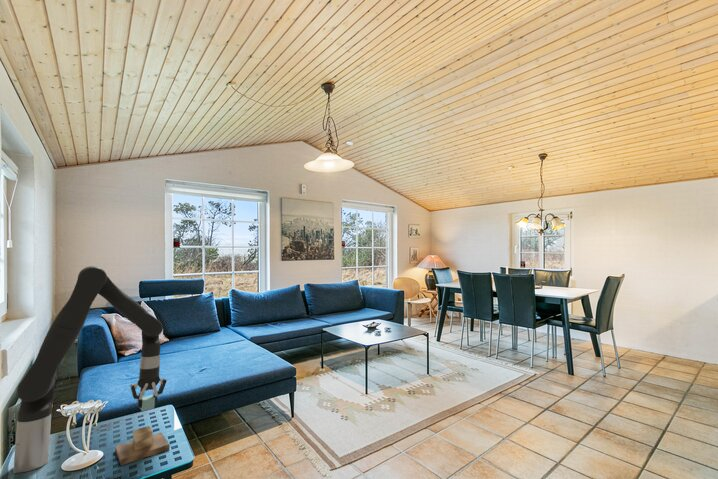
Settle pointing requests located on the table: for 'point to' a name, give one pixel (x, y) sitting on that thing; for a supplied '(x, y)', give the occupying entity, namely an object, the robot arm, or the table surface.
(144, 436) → the oak block
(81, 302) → the robot arm
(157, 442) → the walnut board
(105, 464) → the table surface
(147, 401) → the teal block
